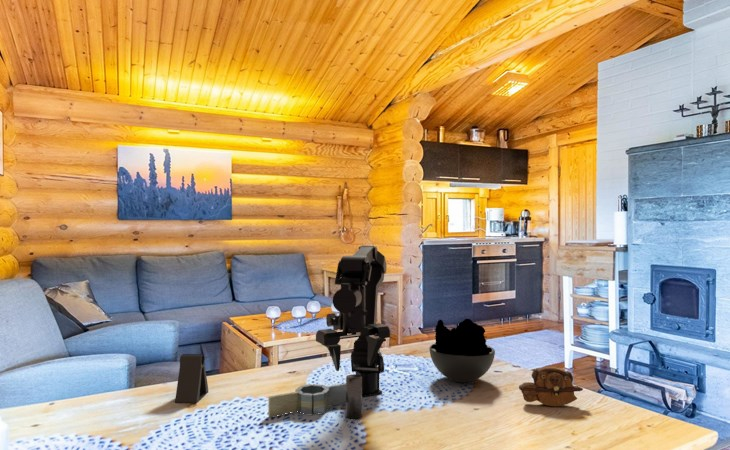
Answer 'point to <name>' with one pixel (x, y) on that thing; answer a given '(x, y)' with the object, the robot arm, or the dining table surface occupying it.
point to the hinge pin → (353, 397)
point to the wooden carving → (550, 387)
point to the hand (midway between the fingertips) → (353, 367)
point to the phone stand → (191, 379)
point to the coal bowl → (461, 351)
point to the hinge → (307, 399)
